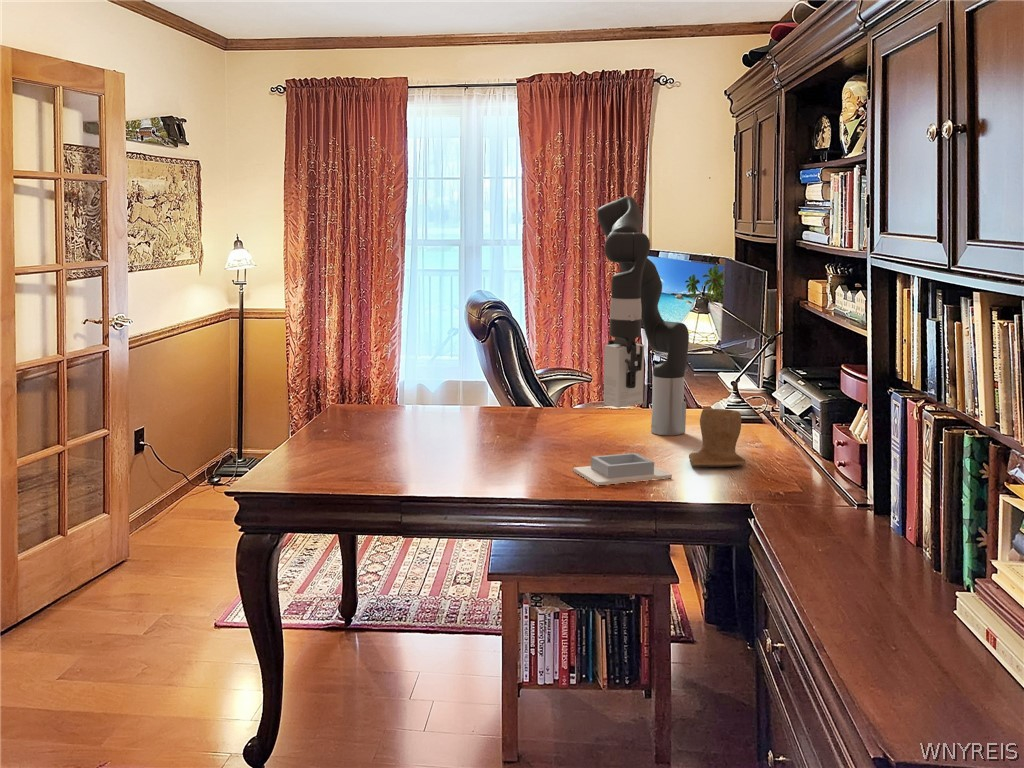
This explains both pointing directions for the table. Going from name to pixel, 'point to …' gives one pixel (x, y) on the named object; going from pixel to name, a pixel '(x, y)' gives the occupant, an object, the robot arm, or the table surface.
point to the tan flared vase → (718, 439)
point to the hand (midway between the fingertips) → (623, 385)
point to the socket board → (620, 469)
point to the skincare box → (621, 378)
